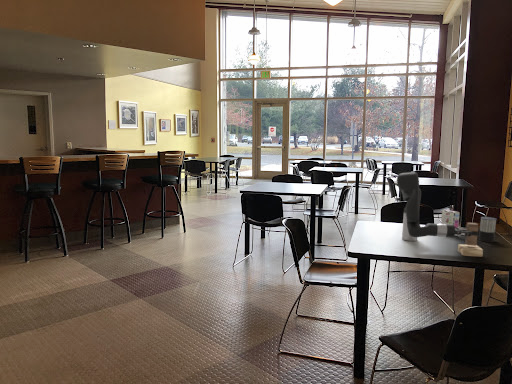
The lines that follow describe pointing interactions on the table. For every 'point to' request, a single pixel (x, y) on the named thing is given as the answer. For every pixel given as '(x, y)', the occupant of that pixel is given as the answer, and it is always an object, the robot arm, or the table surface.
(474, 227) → the walnut block
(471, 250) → the pedestal
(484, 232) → the milk frother
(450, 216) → the candy bar box
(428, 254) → the table surface
